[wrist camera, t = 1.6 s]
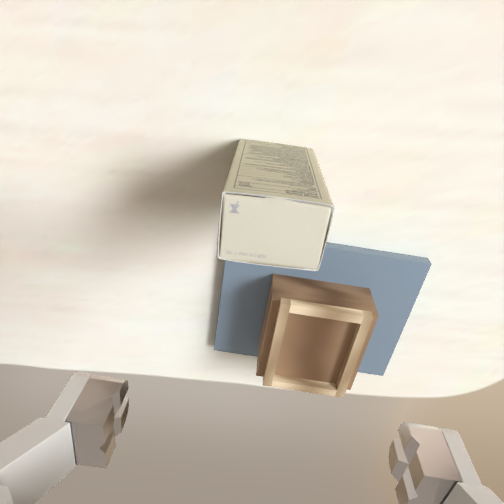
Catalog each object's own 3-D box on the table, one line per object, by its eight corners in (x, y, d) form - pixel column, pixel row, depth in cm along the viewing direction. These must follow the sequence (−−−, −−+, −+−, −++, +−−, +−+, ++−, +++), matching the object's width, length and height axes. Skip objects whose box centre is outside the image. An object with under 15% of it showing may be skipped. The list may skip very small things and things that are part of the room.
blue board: (215, 343, 42) (213, 349, 41) (230, 227, 35) (228, 232, 34) (380, 368, 42) (382, 375, 42) (427, 258, 36) (431, 263, 35)
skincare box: (233, 187, 34) (211, 261, 23) (239, 135, 31) (217, 189, 21) (307, 198, 34) (319, 276, 23) (317, 146, 31) (336, 205, 21)
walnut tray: (258, 347, 41) (255, 384, 37) (273, 270, 36) (272, 302, 32) (343, 361, 41) (350, 398, 37) (370, 285, 36) (381, 319, 32)
